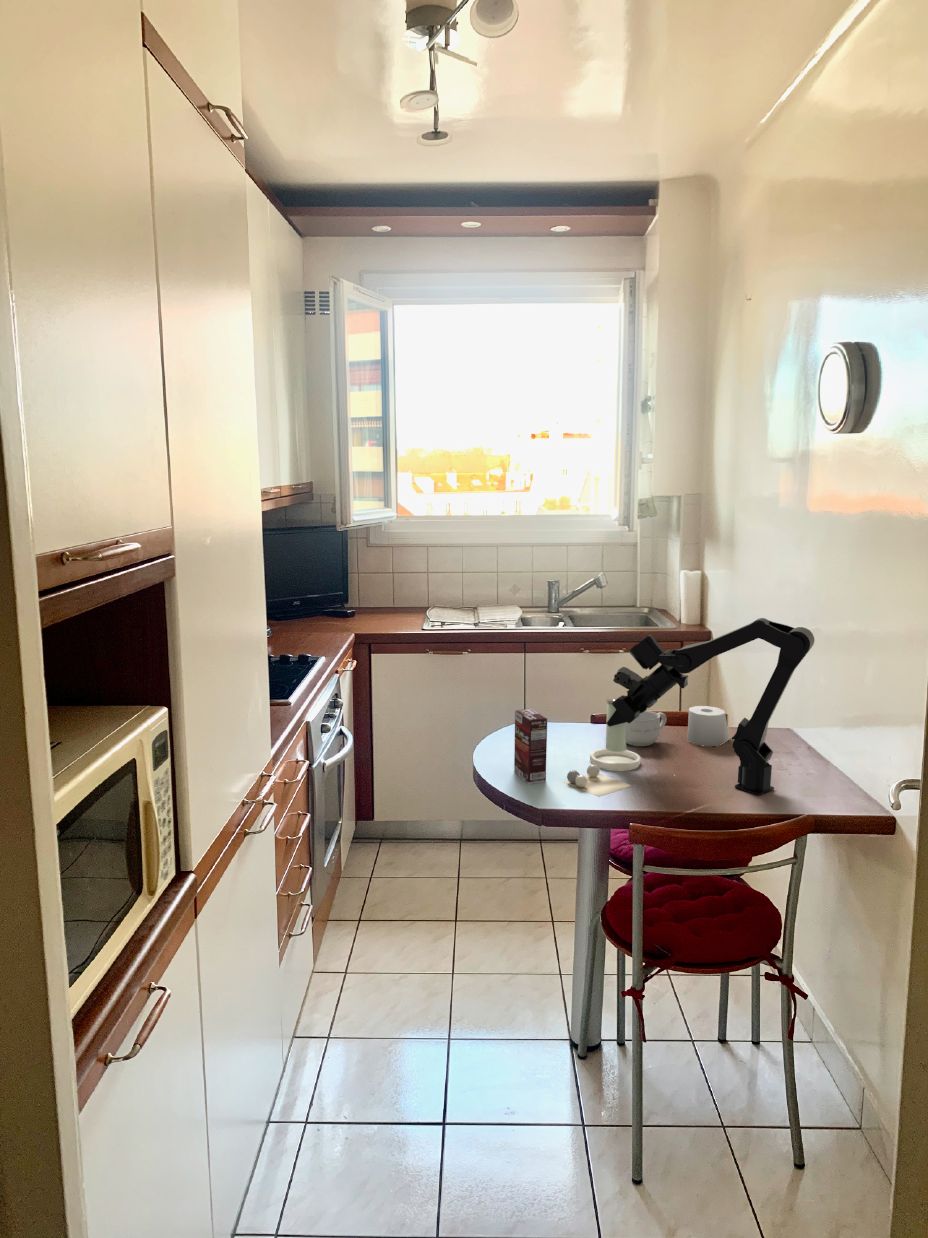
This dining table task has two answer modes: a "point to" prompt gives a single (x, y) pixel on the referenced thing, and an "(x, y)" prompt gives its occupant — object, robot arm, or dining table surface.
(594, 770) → the glossy white ball
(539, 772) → the supplement box
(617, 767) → the round white tray
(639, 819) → the dining table surface
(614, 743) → the pale green lidded canister
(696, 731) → the toilet tissue
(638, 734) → the teacup
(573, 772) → the pebble
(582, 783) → the pebble
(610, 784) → the board
